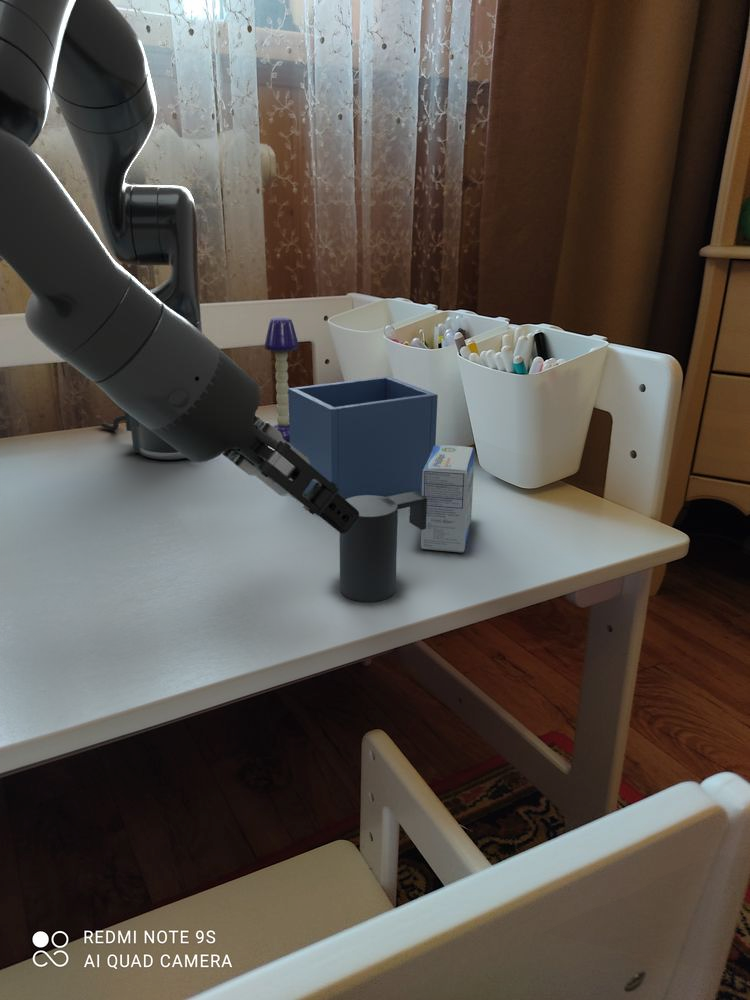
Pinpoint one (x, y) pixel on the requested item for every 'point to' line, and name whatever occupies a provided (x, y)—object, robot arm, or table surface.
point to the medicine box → (448, 497)
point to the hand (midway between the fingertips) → (325, 505)
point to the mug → (375, 544)
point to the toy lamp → (281, 366)
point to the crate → (365, 434)
